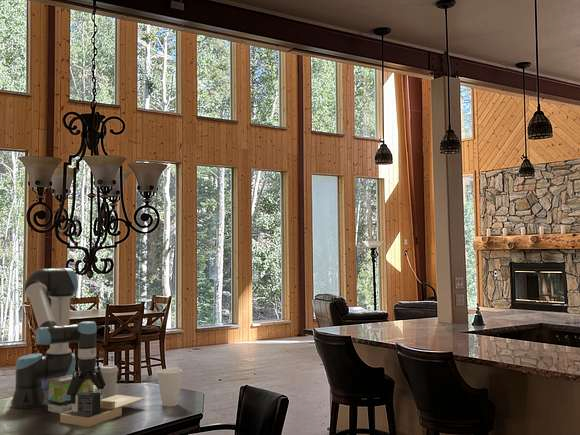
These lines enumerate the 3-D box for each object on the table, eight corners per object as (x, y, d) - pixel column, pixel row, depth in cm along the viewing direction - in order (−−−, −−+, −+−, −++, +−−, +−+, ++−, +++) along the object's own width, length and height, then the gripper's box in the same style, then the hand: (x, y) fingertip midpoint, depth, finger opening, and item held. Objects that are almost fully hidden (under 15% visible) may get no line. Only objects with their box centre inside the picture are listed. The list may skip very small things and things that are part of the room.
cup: (168, 400, 299) (168, 367, 300) (187, 403, 293) (187, 369, 294) (151, 406, 289) (151, 371, 290) (171, 409, 283) (171, 374, 284)
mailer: (60, 422, 263) (60, 414, 263) (94, 411, 281) (94, 403, 281) (88, 426, 256) (88, 418, 256) (121, 415, 273) (121, 407, 274)
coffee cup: (122, 396, 310) (122, 366, 311) (107, 400, 302) (107, 369, 303) (109, 394, 315) (109, 364, 316) (94, 397, 307) (94, 367, 308)
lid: (85, 405, 276) (85, 398, 276) (117, 395, 295) (117, 389, 295) (114, 409, 269) (114, 402, 269) (144, 399, 287) (144, 392, 287)
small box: (101, 416, 267) (101, 392, 268) (92, 420, 261) (93, 395, 262) (79, 415, 270) (80, 391, 271) (70, 419, 264) (71, 394, 264)
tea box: (61, 414, 276) (62, 380, 277) (47, 411, 281) (48, 378, 282) (89, 407, 289) (89, 375, 290) (74, 404, 294) (75, 373, 295)
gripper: (71, 363, 254) (70, 415, 253) (113, 354, 276) (113, 402, 275) (58, 361, 257) (57, 413, 256) (101, 352, 280) (100, 400, 279)
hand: (86, 407), depth 266 cm, fingers open, 13 cm apart
